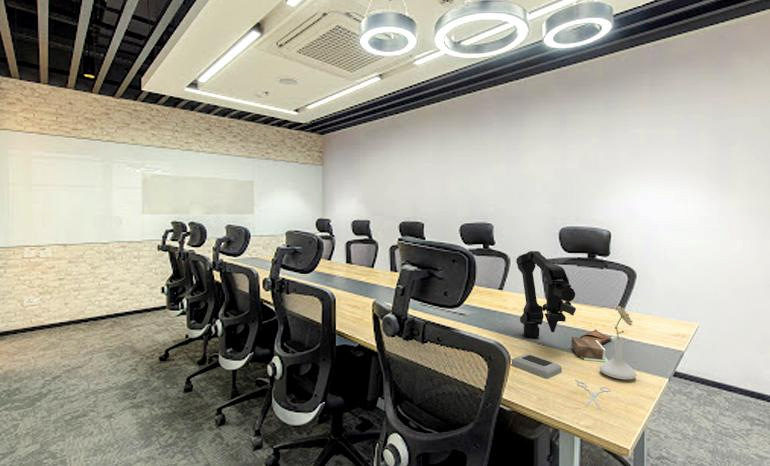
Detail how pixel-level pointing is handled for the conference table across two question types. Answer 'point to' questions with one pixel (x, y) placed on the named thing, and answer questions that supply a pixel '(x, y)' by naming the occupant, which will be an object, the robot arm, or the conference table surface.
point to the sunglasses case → (596, 337)
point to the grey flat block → (537, 365)
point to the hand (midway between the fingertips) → (552, 332)
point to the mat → (593, 359)
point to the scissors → (593, 395)
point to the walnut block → (588, 348)
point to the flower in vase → (619, 354)
